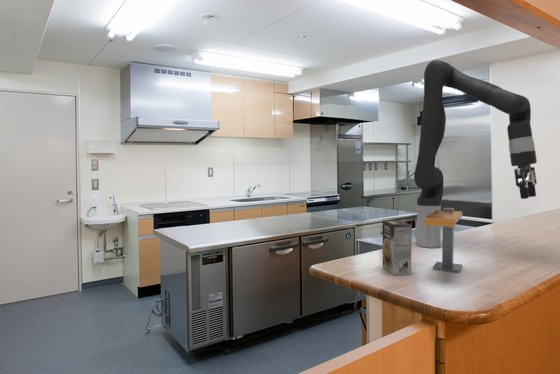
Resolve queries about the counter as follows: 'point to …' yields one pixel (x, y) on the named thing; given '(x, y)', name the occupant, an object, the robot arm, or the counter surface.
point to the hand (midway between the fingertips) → (528, 197)
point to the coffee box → (397, 247)
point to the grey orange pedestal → (446, 237)
